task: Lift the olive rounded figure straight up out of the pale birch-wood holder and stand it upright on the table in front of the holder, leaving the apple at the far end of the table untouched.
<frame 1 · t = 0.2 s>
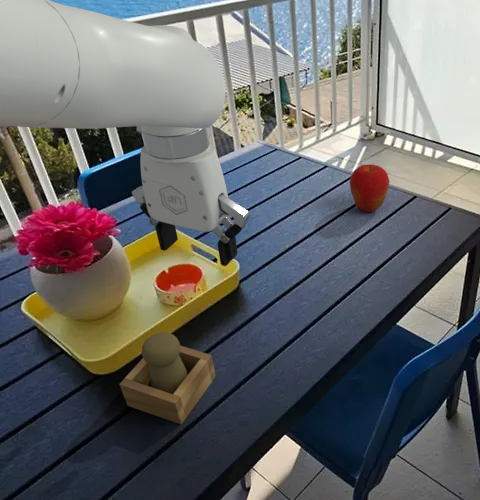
hand: (198, 252, 70), 21 cm above the table, tool pointing down, fingers open, 9 cm apart
apple: (368, 209, 121), on the table
holder: (173, 390, 77), on the table
olive rounded figure: (173, 391, 77), resting in holder
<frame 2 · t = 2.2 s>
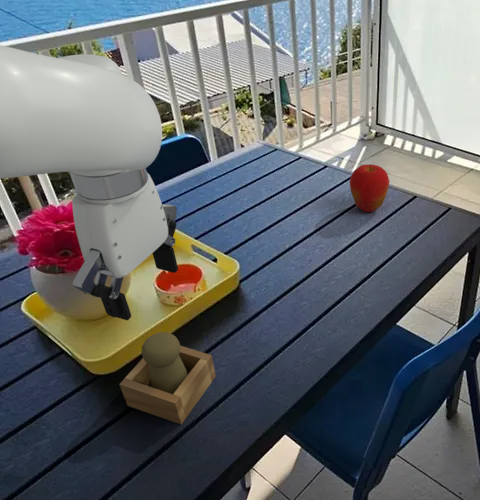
hand: (145, 291, 65), 20 cm above the table, tool pointing down, fingers open, 9 cm apart
nothing on the table moved.
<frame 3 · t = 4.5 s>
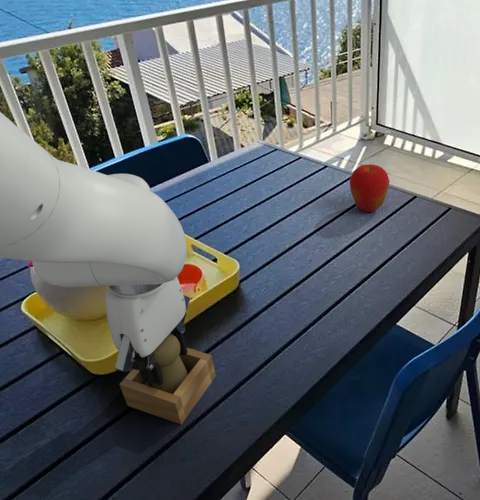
hand: (165, 365, 73), 6 cm above the table, tool pointing down, fingers closed on olive rounded figure, 5 cm apart
olive rounded figure: (173, 391, 77), resting in holder, touching gripper
everything else where it was.
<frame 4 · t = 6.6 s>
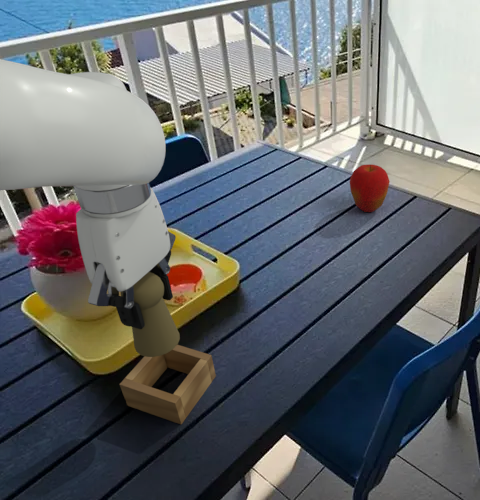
hand: (148, 309, 66), 17 cm above the table, tool pointing down, fingers closed on olive rounded figure, 5 cm apart
olive rounded figure: (157, 341, 70), point 11 cm above the table, touching gripper
everything else where it was.
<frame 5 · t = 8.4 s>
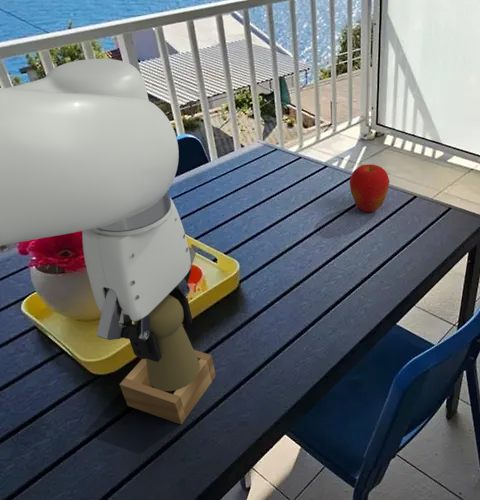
hand: (164, 337, 57), 21 cm above the table, tool pointing down, fingers closed on olive rounded figure, 5 cm apart
olive rounded figure: (174, 371, 61), point 15 cm above the table, touching gripper
everything else where it was.
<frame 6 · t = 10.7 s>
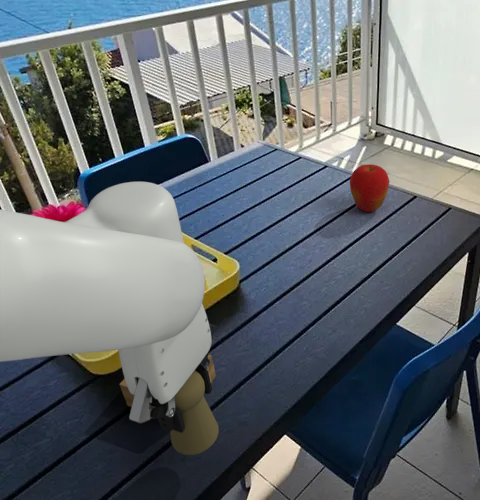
hand: (187, 406, 62), 11 cm above the table, tool pointing down, fingers closed on olive rounded figure, 5 cm apart
olive rounded figure: (195, 434, 66), point 5 cm above the table, touching gripper
everything else where it was.
when the fingers open (6 cm above the table, at t = 12.4 s): olive rounded figure stays where it is, on the table.
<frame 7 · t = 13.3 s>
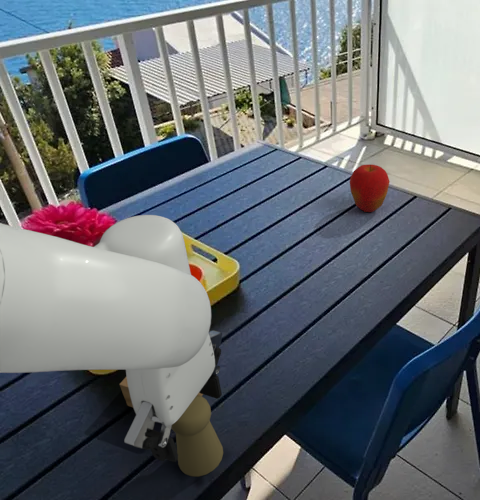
hand: (189, 423, 63), 8 cm above the table, tool pointing down, fingers open, 9 cm apart
olive rounded figure: (201, 456, 68), on the table
everything else where it was.
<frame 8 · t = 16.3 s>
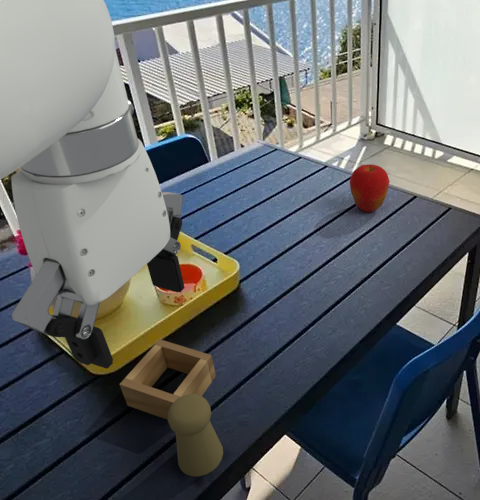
hand: (135, 321, 44), 32 cm above the table, tool pointing down, fingers open, 9 cm apart
nothing on the table moved.
at the end: olive rounded figure 0.1 cm from the target spot on the table beside the holder, on the table; olive rounded figure tilted 0°; apple moved 0.2 cm from its start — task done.
